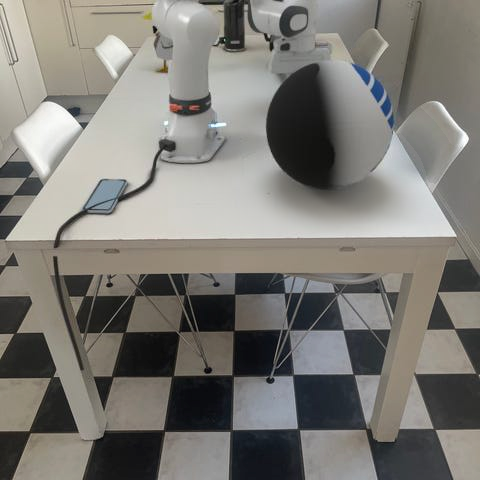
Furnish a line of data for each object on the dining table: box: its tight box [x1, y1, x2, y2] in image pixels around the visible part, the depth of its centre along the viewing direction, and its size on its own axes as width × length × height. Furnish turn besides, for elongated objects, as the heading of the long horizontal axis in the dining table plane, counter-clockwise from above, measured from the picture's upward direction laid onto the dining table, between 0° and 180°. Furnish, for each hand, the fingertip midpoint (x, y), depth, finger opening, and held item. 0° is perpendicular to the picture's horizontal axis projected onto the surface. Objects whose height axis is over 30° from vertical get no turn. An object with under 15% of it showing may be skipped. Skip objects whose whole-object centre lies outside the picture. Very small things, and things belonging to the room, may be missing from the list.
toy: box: [141, 11, 173, 73], centre depth 204 cm, size 8×20×24 cm, turn 69°
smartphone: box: [81, 178, 128, 214], centre depth 127 cm, size 7×1×15 cm
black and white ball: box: [265, 59, 395, 190], centre depth 123 cm, size 30×30×30 cm
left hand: (298, 85), depth 173 cm, fingers closed on post, 4 cm apart
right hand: (277, 51), depth 207 cm, fingers closed on post, 4 cm apart
